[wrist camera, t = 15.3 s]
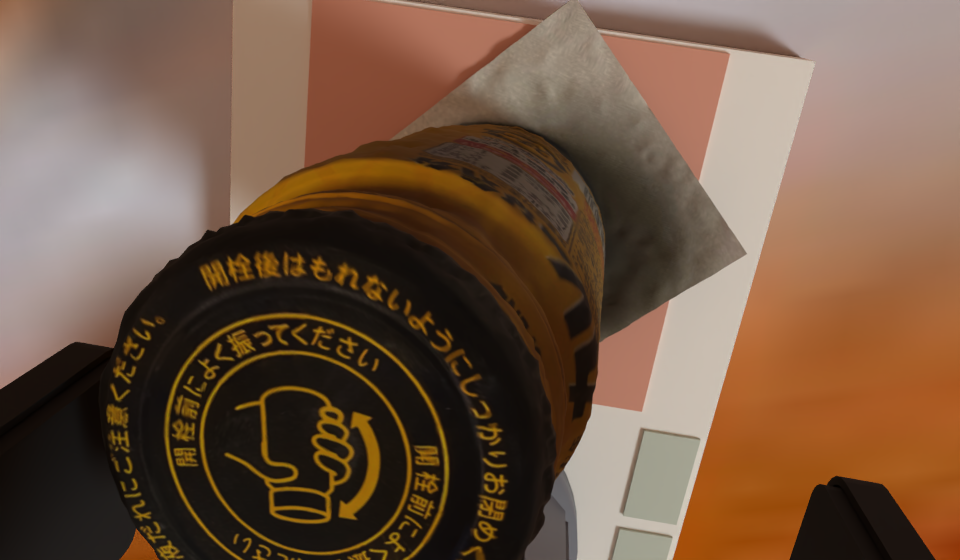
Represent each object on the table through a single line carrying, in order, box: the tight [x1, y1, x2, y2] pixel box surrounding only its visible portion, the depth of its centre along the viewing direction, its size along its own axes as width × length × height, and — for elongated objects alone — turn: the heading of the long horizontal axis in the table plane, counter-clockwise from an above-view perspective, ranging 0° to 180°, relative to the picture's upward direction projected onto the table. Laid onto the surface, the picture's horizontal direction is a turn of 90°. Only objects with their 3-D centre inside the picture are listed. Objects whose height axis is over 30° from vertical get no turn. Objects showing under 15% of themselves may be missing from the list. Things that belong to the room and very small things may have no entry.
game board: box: [230, 0, 815, 560], centre depth 20 cm, size 20×14×6 cm
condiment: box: [98, 0, 747, 560], centre depth 14 cm, size 7×8×12 cm
